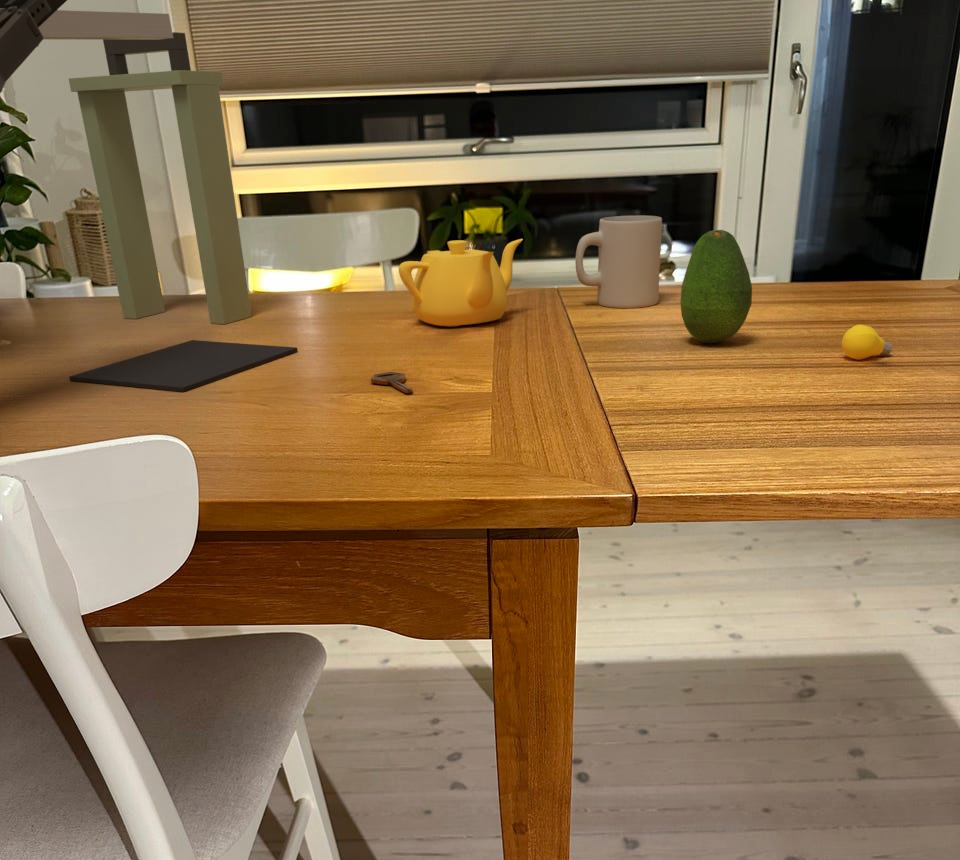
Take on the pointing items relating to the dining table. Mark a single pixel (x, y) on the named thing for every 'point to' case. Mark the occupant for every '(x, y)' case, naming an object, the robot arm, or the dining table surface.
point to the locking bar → (106, 25)
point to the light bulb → (864, 343)
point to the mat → (184, 365)
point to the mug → (624, 261)
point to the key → (392, 380)
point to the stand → (203, 173)
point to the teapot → (459, 284)
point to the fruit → (715, 288)
